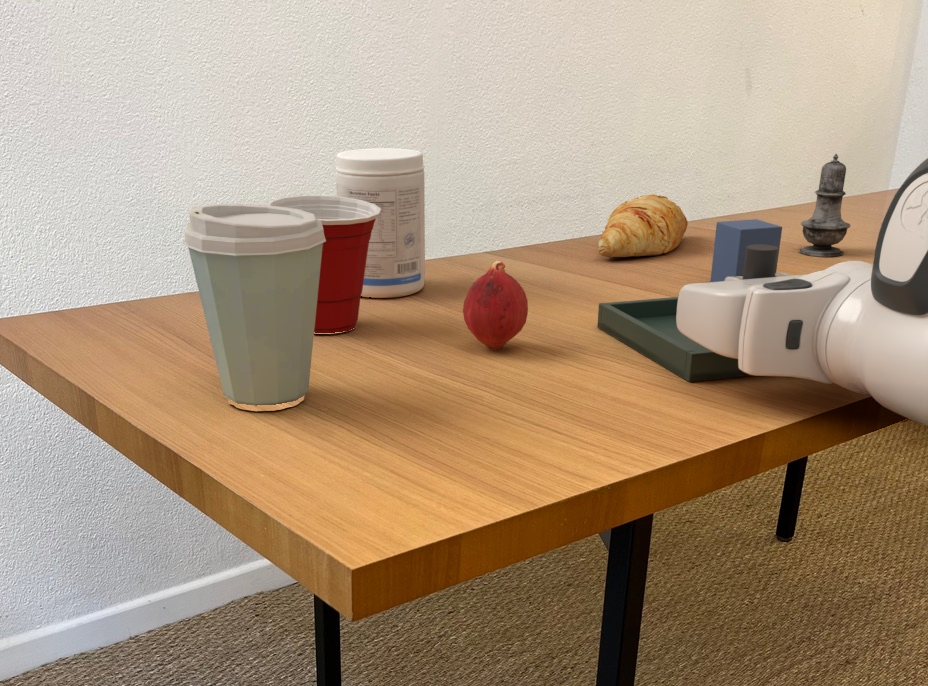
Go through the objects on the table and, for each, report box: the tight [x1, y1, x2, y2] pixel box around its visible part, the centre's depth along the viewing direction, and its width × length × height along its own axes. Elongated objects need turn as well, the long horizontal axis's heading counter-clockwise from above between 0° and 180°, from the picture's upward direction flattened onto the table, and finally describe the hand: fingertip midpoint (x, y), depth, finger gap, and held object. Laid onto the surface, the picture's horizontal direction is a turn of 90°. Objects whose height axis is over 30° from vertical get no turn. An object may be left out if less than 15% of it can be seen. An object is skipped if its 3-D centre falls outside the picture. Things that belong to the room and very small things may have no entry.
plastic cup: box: [266, 195, 381, 333], centre depth 101 cm, size 11×11×12 cm
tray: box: [597, 244, 780, 383], centre depth 94 cm, size 16×18×10 cm
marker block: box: [709, 218, 783, 282], centre depth 115 cm, size 5×5×7 cm
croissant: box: [597, 194, 689, 258], centre depth 135 cm, size 21×10×8 cm, turn 142°
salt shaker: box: [799, 153, 851, 258], centre depth 131 cm, size 6×6×12 cm
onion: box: [462, 260, 529, 350], centre depth 94 cm, size 6×6×8 cm
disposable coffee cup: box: [183, 203, 326, 406], centre depth 81 cm, size 11×11×15 cm
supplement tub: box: [335, 147, 426, 299], centre depth 115 cm, size 10×10×15 cm
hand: (751, 284), depth 90 cm, fingers closed on tray, 2 cm apart
